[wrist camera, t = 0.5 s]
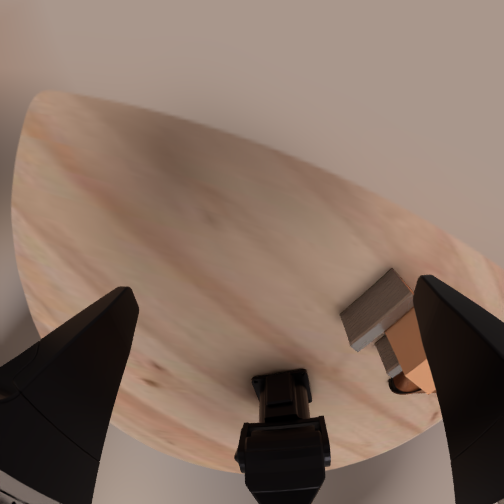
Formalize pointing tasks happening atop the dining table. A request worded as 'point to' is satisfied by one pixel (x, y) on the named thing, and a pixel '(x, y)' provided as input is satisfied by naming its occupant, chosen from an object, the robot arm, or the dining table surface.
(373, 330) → the silver twin-wall channel
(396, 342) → the block
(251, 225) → the dining table surface
